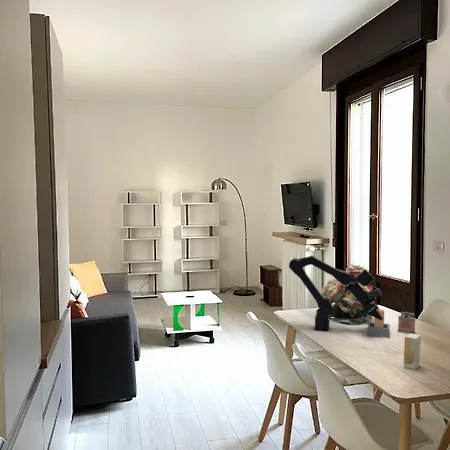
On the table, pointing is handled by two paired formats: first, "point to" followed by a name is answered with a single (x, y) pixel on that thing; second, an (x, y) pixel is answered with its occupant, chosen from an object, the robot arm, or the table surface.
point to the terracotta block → (378, 322)
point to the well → (378, 330)
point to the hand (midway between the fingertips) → (382, 317)
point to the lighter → (406, 323)
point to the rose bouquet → (346, 300)
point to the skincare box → (412, 351)
